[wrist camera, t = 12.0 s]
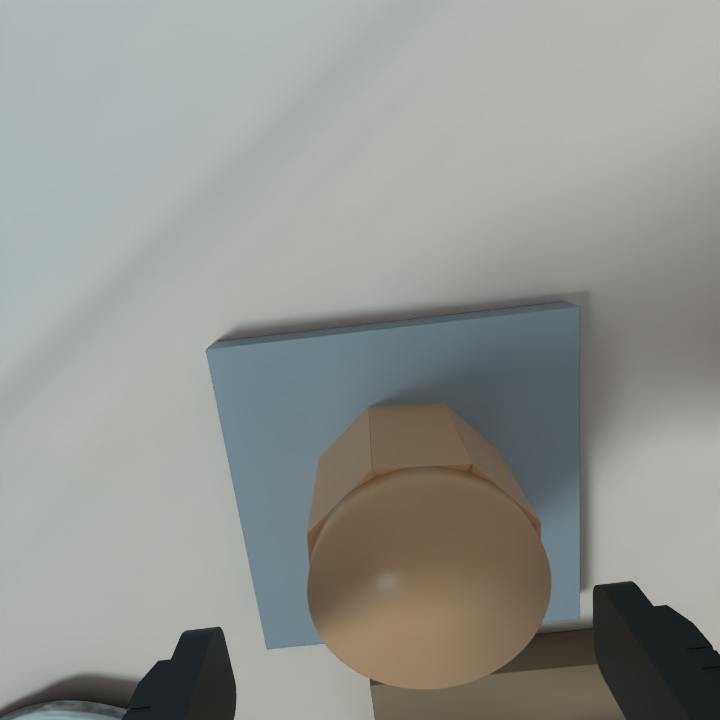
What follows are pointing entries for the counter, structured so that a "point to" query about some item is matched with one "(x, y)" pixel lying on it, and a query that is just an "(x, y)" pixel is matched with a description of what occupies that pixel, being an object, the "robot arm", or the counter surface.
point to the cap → (422, 551)
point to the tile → (387, 388)
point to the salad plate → (67, 711)
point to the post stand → (515, 688)
